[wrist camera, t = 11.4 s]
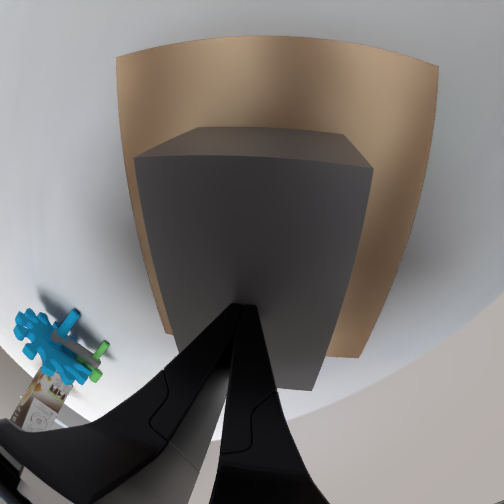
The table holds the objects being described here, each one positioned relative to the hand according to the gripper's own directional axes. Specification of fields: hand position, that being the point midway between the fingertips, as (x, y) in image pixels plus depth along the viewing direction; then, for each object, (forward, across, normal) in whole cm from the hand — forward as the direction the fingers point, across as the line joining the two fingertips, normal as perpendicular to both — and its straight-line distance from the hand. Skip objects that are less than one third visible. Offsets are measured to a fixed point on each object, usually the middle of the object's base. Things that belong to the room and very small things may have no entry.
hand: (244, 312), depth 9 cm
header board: (+6, 0, 0) cm, 6 cm away
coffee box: (+6, +41, +37) cm, 56 cm away
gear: (+6, +20, +13) cm, 25 cm away
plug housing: (+5, 0, 0) cm, 5 cm away
